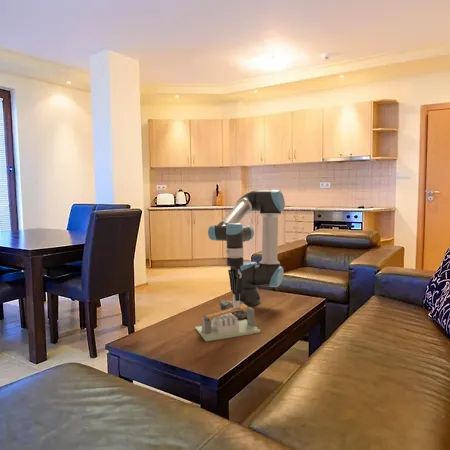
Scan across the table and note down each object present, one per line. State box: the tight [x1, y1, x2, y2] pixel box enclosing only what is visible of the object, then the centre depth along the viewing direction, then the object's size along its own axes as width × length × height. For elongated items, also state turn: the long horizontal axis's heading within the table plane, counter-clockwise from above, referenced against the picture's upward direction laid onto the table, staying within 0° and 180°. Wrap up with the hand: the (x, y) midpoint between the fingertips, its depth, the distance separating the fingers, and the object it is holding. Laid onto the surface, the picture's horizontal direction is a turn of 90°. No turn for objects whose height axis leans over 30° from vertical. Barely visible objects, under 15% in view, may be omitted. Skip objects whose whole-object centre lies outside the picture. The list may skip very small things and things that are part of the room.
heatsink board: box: [194, 306, 262, 342], centre depth 179 cm, size 17×26×9 cm, turn 110°
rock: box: [218, 300, 247, 320], centre depth 198 cm, size 16×8×10 cm, turn 60°
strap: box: [203, 304, 249, 321], centre depth 178 cm, size 21×5×1 cm, turn 110°
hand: (236, 307), depth 180 cm, fingers closed
